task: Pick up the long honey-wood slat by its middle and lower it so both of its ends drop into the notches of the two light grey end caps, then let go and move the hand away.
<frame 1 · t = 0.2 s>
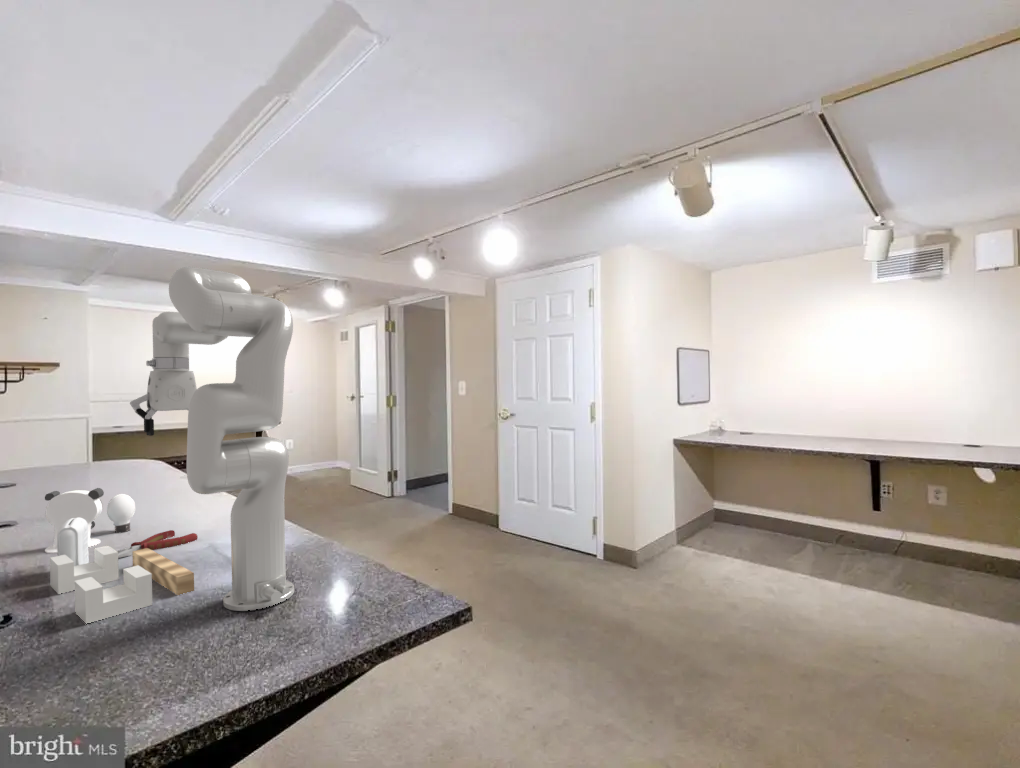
hand: (172, 433, 127), 31 cm above the counter, tool pointing down, fingers open, 9 cm apart
pliers: (149, 549, 134), on the counter
photo printer: (74, 573, 116), on the counter
light bulb: (121, 531, 150), on the counter
end caps: (98, 594, 103), on the counter
panda figurine: (75, 546, 136), on the counter
slat: (161, 579, 111), on the counter
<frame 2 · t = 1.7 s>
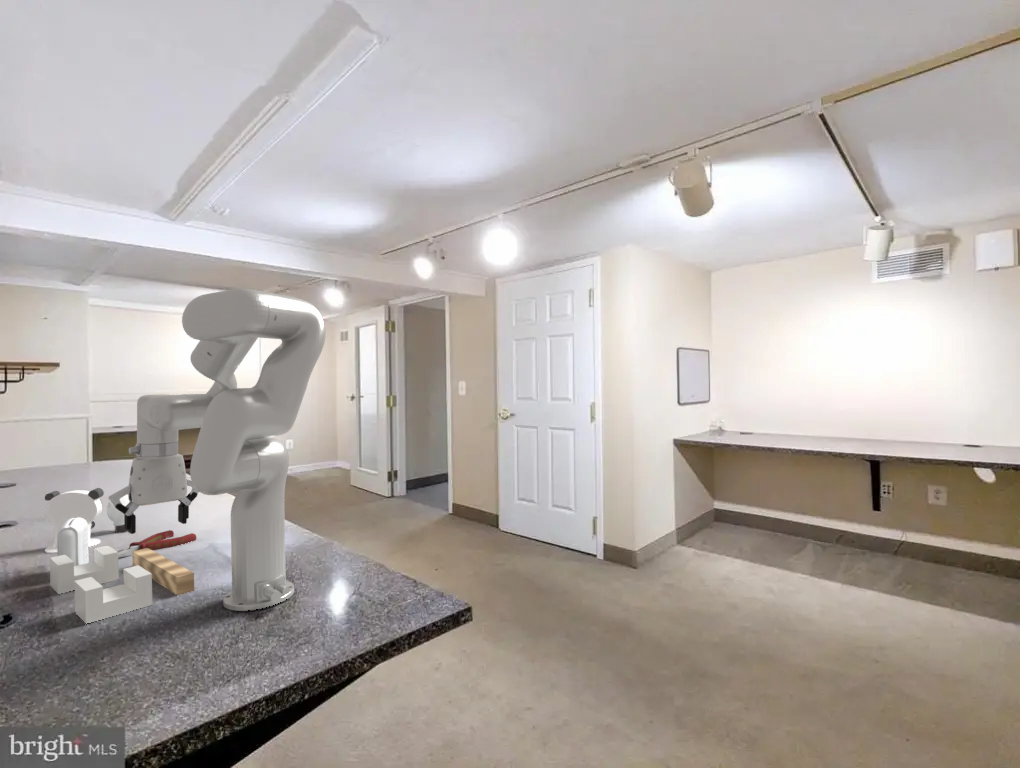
hand: (157, 527, 112), 11 cm above the counter, tool pointing down, fingers open, 9 cm apart
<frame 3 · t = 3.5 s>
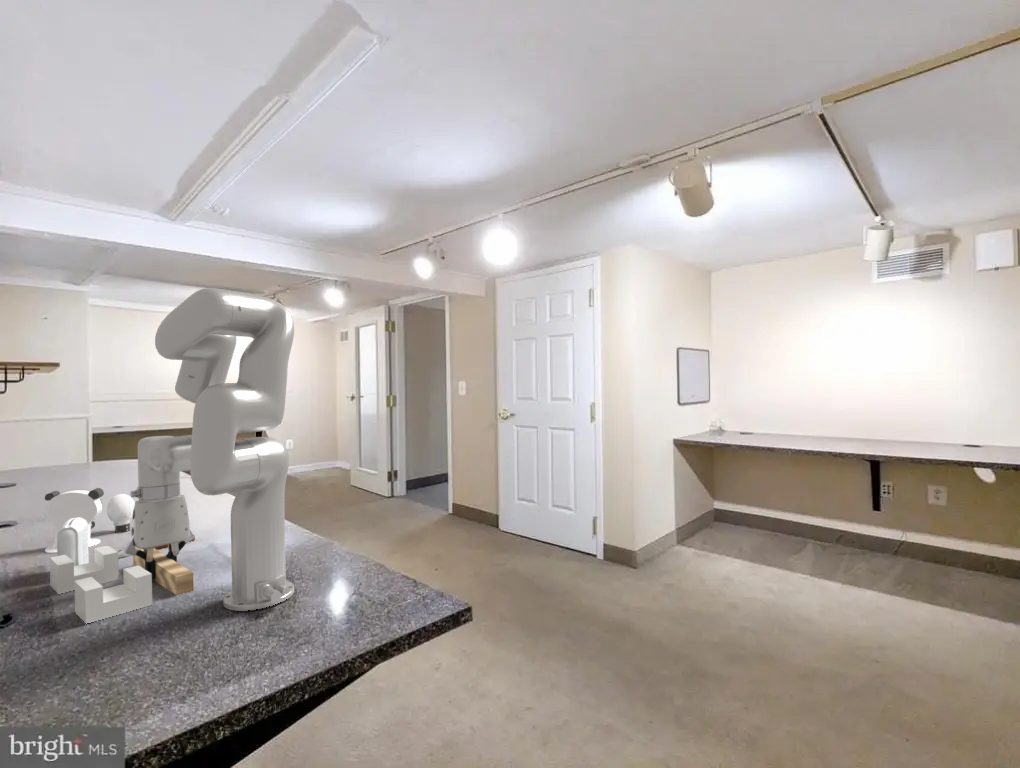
hand: (161, 574, 111), 1 cm above the counter, tool pointing down, fingers closed on slat, 2 cm apart
slat: (161, 577, 111), on the counter, touching gripper
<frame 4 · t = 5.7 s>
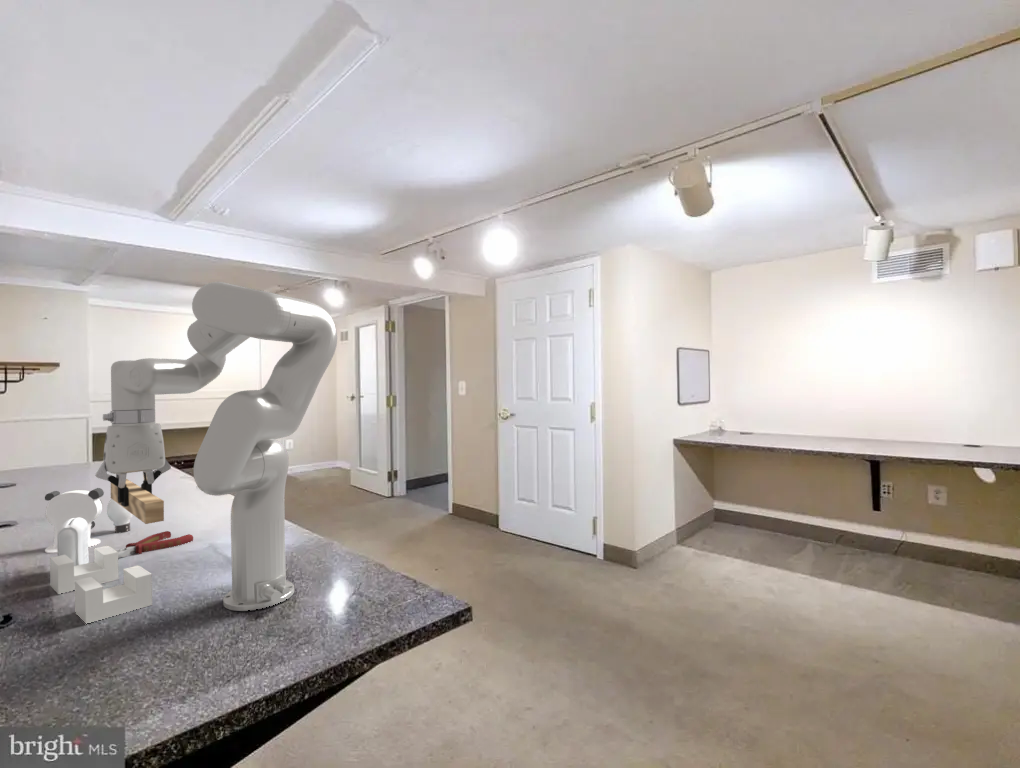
hand: (135, 503, 108), 17 cm above the counter, tool pointing down, fingers closed on slat, 3 cm apart
slat: (135, 508, 108), point 16 cm above the counter, touching gripper
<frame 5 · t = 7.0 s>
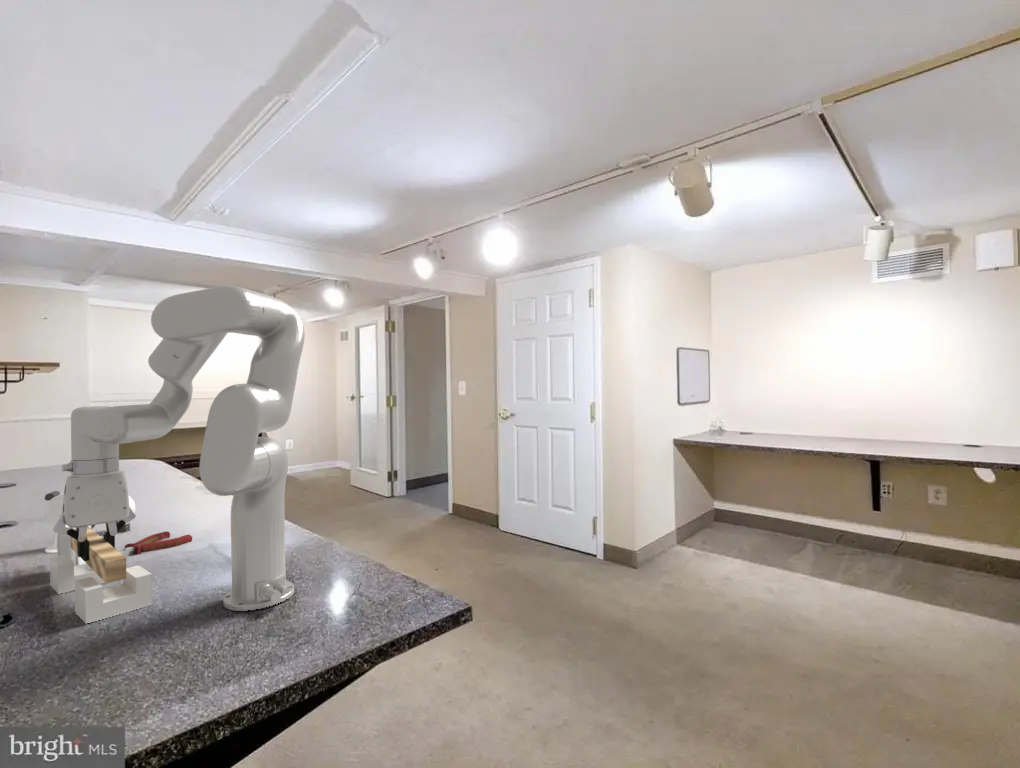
hand: (96, 556, 103), 8 cm above the counter, tool pointing down, fingers closed on slat, 3 cm apart
slat: (96, 561, 103), point 7 cm above the counter, touching gripper
when the fingers open (5 cm above the counter, at t = 7.8 s): slat stays where it is, resting on end caps.
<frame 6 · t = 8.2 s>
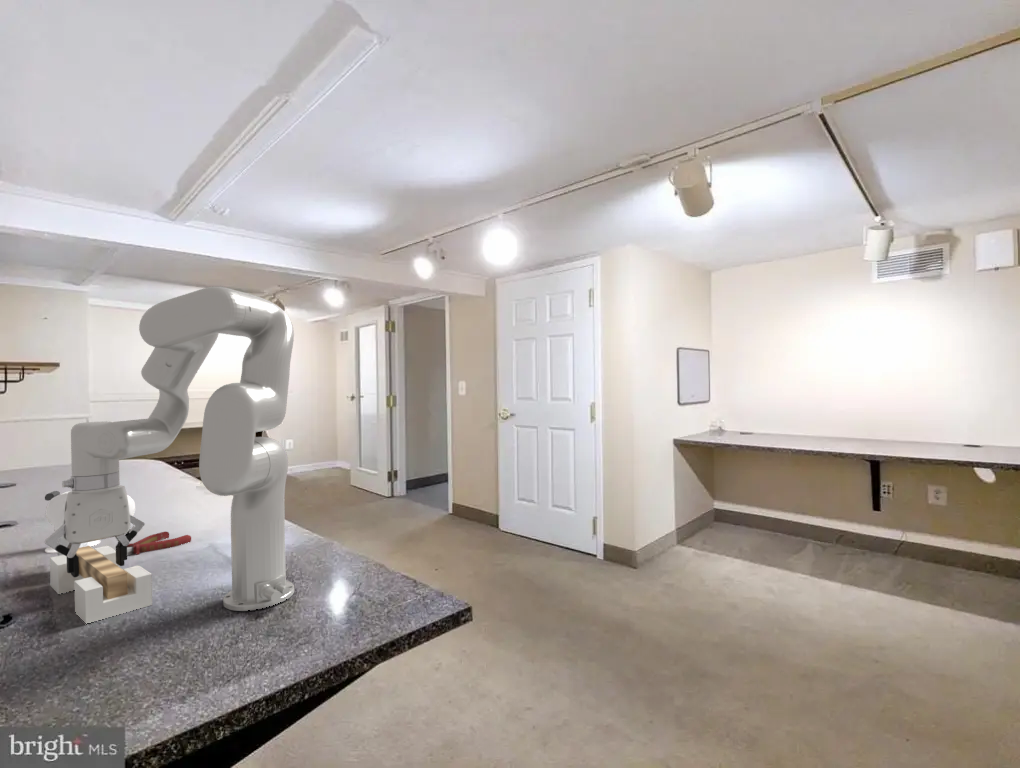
hand: (98, 569, 103), 5 cm above the counter, tool pointing down, fingers open, 6 cm apart
slat: (97, 579, 103), point 3 cm above the counter, touching end caps
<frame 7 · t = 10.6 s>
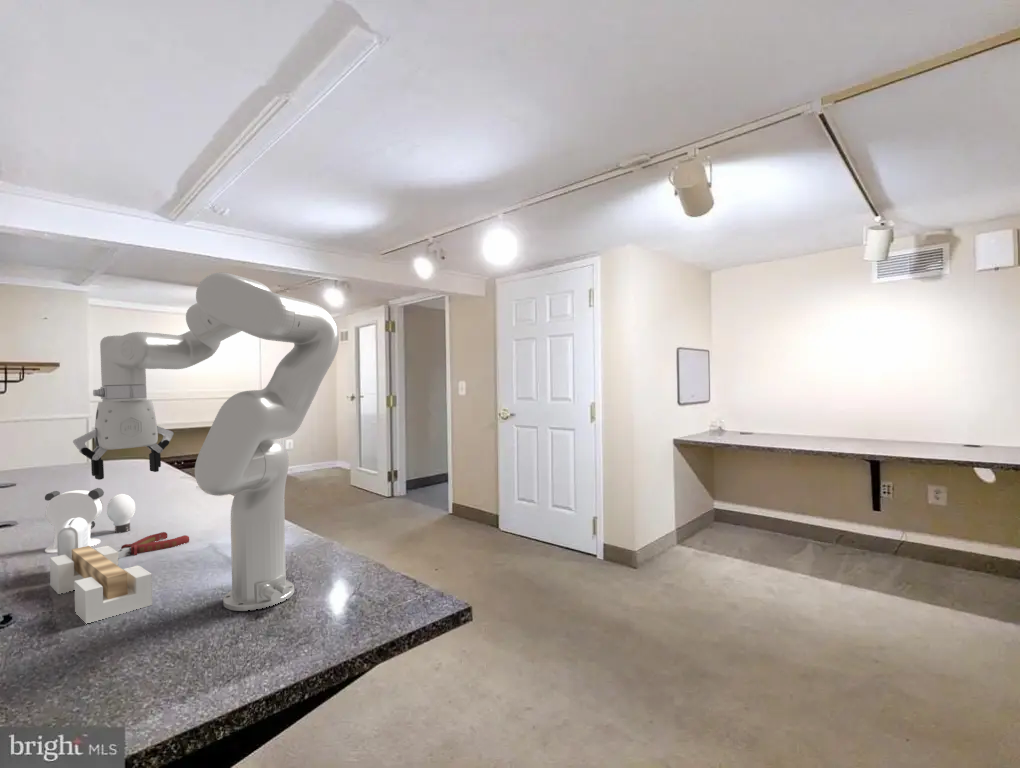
hand: (127, 475, 107), 24 cm above the counter, tool pointing down, fingers open, 9 cm apart
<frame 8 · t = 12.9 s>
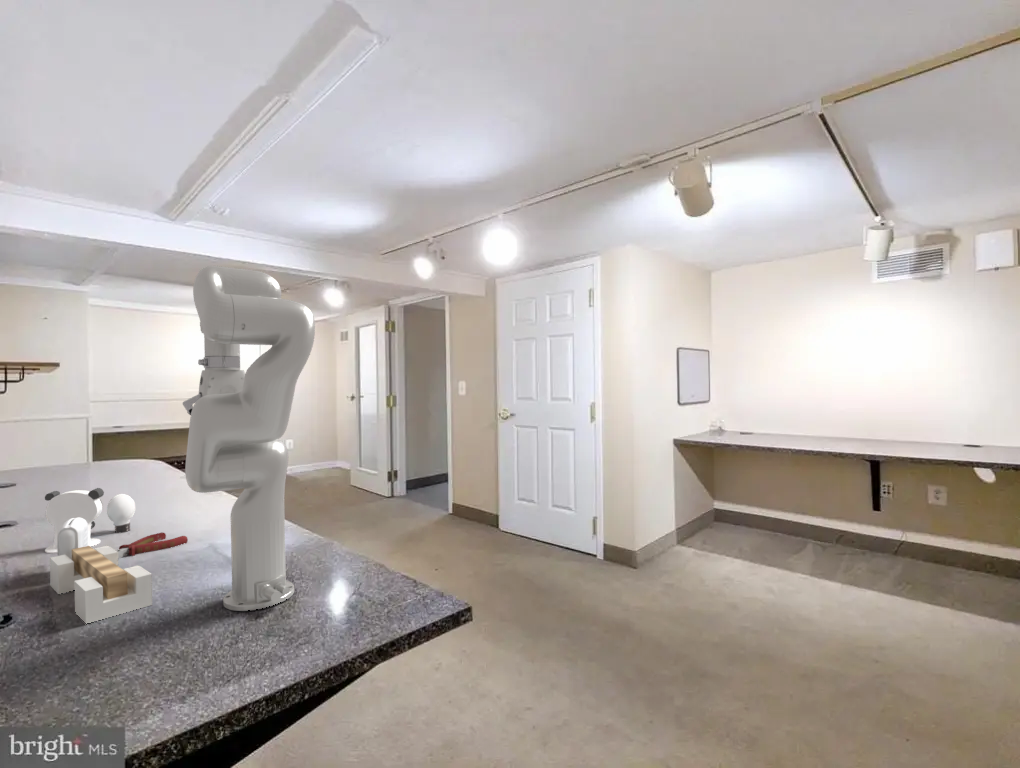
hand: (224, 434, 123), 30 cm above the counter, tool pointing down, fingers open, 9 cm apart
at the end: slat inside the target area (0.2 cm from its centre), point 3.0 cm above the counter; slat tilted 0°; the gripper is holding nothing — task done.
